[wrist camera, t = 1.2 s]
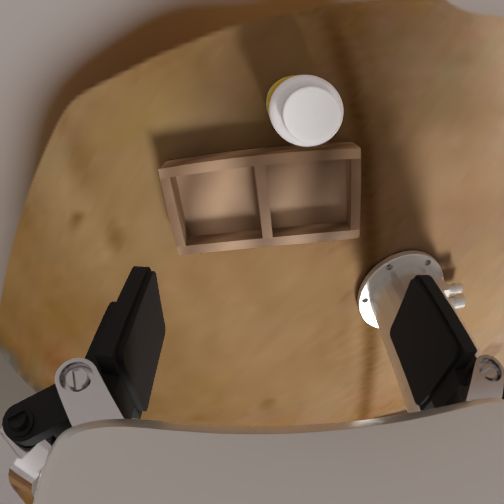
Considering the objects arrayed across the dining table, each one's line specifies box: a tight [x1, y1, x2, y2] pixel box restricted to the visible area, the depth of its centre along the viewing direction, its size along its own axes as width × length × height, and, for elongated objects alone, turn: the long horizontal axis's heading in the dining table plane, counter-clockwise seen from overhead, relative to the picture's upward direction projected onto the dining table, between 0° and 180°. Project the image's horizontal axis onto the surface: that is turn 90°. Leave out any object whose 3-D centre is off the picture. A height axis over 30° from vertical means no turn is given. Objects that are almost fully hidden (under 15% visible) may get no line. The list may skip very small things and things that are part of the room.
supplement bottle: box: [266, 75, 344, 147], centre depth 23 cm, size 6×6×10 cm
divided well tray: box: [158, 142, 361, 255], centre depth 31 cm, size 19×10×3 cm, turn 97°
